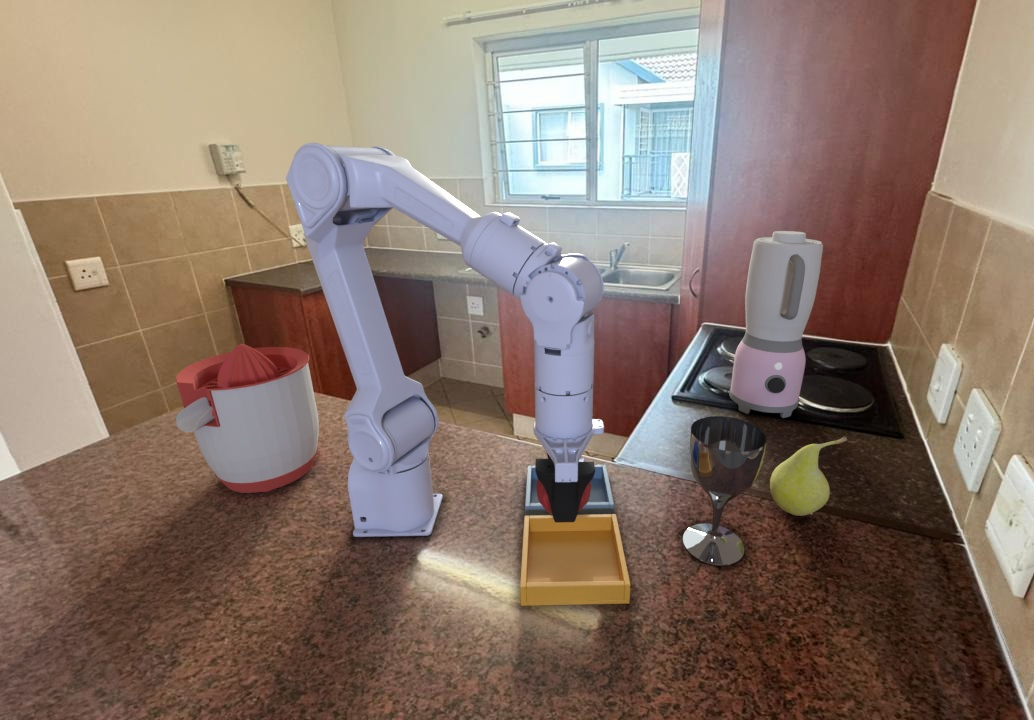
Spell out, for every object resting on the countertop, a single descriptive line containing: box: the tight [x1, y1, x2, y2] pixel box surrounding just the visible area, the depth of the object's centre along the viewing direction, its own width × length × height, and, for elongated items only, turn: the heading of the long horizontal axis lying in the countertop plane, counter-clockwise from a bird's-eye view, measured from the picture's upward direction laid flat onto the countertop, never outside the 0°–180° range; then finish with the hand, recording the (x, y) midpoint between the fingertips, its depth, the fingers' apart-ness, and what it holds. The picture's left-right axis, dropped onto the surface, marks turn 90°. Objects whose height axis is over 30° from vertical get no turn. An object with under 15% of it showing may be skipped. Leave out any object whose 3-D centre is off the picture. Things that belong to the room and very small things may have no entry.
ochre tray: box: [519, 513, 631, 607], centre depth 56 cm, size 11×11×2 cm
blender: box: [729, 230, 824, 419], centre depth 88 cm, size 16×12×32 cm
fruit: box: [769, 436, 848, 517], centre depth 64 cm, size 7×8×12 cm
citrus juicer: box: [175, 343, 320, 494], centre depth 70 cm, size 16×17×20 cm
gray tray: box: [524, 464, 615, 516], centre depth 67 cm, size 11×9×2 cm
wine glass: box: [682, 415, 768, 566], centre depth 57 cm, size 8×8×15 cm
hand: (563, 500), depth 53 cm, fingers closed on onion, 6 cm apart
